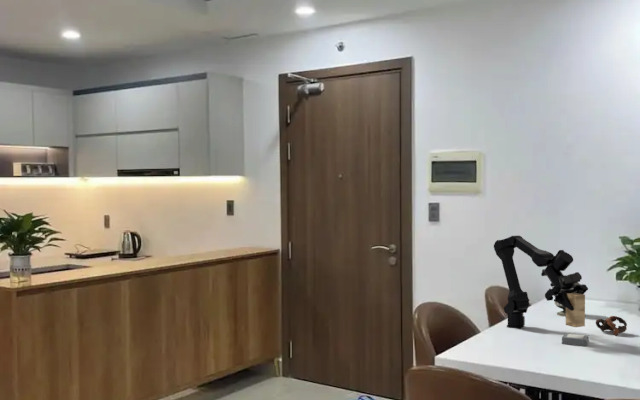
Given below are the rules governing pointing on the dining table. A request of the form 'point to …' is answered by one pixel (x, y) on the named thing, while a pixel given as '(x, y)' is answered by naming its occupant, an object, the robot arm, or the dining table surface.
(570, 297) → the oak post
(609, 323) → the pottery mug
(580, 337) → the base tile
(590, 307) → the dining table surface
